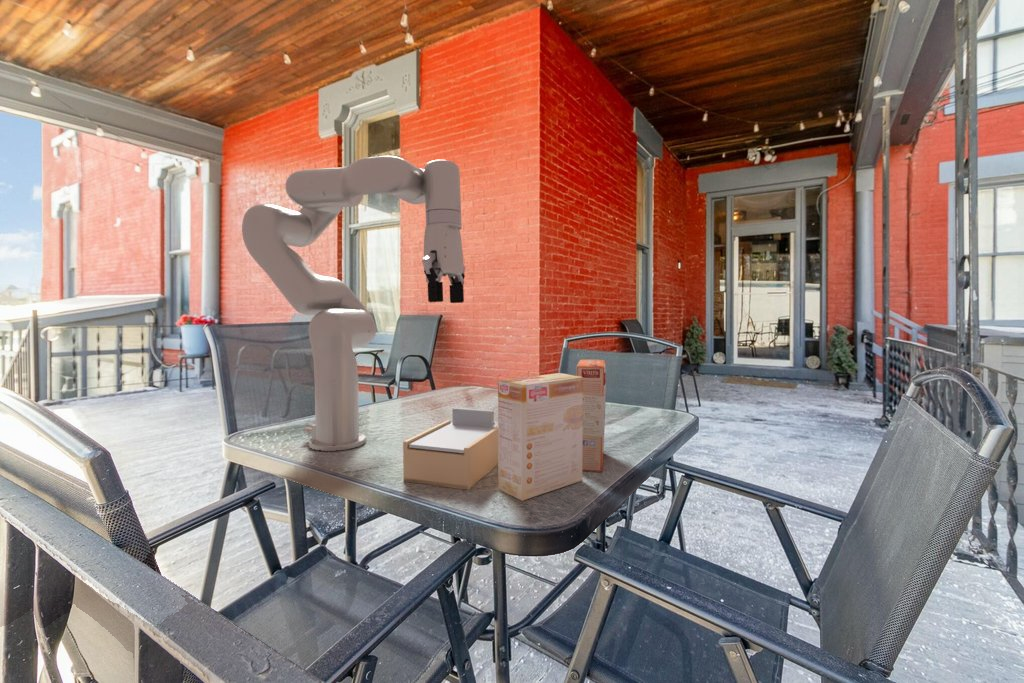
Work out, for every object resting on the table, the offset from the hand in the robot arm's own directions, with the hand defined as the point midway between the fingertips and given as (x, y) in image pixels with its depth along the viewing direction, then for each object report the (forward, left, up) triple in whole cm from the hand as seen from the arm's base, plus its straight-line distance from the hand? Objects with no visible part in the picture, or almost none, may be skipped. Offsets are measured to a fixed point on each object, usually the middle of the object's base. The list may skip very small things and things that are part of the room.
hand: (446, 302), depth 101 cm
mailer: (+6, -9, -33) cm, 35 cm away
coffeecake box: (+24, -12, -33) cm, 43 cm away
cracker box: (+30, +5, -33) cm, 45 cm away
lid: (+6, -9, -27) cm, 29 cm away
